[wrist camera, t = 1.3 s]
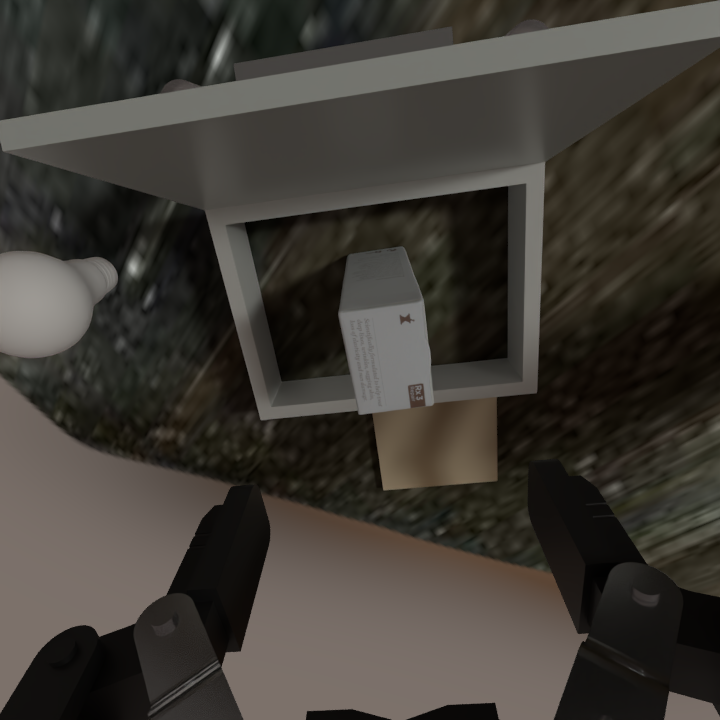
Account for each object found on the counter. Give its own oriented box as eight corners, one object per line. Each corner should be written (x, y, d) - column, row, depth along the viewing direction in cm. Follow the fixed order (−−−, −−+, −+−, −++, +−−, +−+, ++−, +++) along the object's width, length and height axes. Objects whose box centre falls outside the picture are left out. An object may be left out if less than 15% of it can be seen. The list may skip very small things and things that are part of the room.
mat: (494, 387, 36) (496, 391, 35) (495, 476, 40) (497, 480, 39) (370, 399, 37) (370, 403, 36) (383, 485, 41) (383, 490, 40)
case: (523, 160, 29) (544, 161, 25) (520, 368, 35) (537, 392, 32) (225, 203, 31) (204, 210, 27) (272, 393, 37) (260, 420, 33)
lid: (544, 161, 25) (543, 135, 25) (741, 33, 11) (744, -32, 11) (204, 210, 27) (200, 185, 27) (3, 151, 13) (-11, 98, 13)
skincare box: (345, 254, 32) (328, 308, 21) (408, 244, 31) (424, 293, 20) (359, 333, 34) (350, 419, 23) (417, 325, 34) (436, 408, 23)
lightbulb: (165, 276, 33) (73, 330, 23) (115, 326, 35) (11, 396, 25) (96, 210, 31) (-36, 238, 21) (48, 266, 33) (-94, 316, 23)
